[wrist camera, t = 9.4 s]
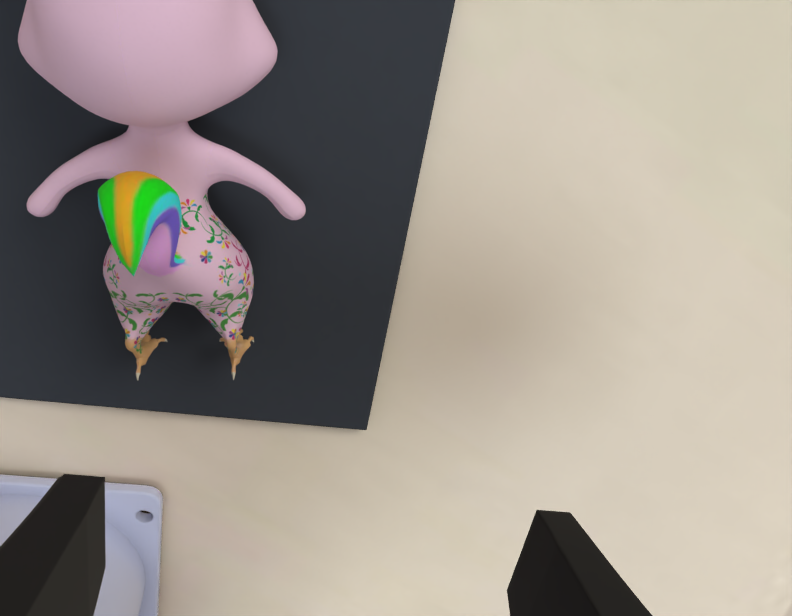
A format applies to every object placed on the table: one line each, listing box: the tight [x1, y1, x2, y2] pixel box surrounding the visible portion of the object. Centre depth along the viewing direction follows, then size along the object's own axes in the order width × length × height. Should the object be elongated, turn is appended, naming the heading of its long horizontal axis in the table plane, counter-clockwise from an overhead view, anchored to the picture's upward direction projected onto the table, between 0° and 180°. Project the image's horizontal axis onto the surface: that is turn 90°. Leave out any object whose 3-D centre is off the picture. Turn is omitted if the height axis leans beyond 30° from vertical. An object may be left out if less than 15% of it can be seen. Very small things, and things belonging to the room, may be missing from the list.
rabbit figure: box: [18, 0, 306, 380], centre depth 15 cm, size 6×6×15 cm
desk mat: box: [0, 0, 455, 430], centre depth 18 cm, size 20×12×1 cm, turn 170°
